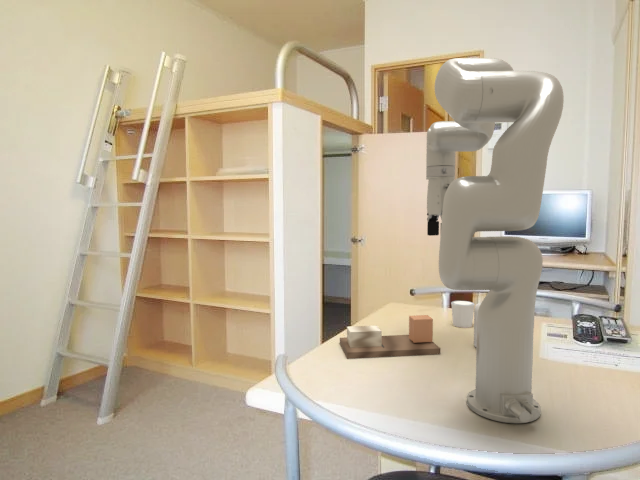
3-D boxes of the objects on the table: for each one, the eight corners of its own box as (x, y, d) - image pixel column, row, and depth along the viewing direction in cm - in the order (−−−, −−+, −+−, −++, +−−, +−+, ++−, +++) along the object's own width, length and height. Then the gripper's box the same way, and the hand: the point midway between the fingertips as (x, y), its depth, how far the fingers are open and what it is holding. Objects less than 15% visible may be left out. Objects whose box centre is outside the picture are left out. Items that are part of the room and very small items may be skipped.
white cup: (446, 323, 138) (446, 301, 138) (465, 321, 140) (465, 299, 140) (459, 329, 132) (459, 306, 131) (479, 327, 134) (479, 304, 133)
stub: (413, 342, 114) (414, 319, 113) (408, 337, 117) (409, 315, 117) (432, 341, 114) (432, 318, 114) (427, 337, 118) (427, 315, 117)
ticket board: (347, 358, 108) (347, 336, 107) (339, 343, 120) (339, 323, 119) (440, 354, 110) (440, 332, 110) (423, 339, 122) (424, 319, 122)
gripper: (467, 171, 112) (466, 239, 113) (441, 175, 129) (440, 234, 130) (439, 171, 111) (438, 239, 112) (416, 175, 128) (416, 234, 129)
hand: (439, 236), depth 121 cm, fingers open, 9 cm apart
